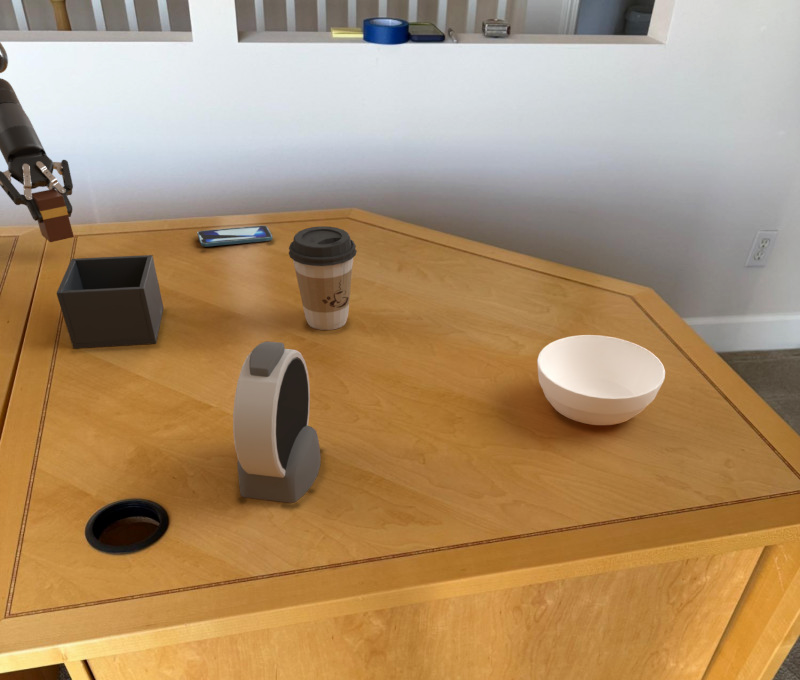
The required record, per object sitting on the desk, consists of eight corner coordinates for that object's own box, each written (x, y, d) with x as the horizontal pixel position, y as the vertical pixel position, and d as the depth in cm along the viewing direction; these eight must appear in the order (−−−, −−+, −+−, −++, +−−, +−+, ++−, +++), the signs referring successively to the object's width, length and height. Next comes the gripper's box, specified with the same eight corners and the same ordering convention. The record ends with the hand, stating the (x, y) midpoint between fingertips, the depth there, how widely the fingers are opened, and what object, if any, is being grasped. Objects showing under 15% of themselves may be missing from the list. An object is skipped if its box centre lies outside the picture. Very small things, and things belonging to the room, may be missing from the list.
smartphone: (273, 237, 163) (201, 243, 160) (273, 241, 164) (202, 248, 160) (266, 224, 169) (196, 231, 165) (266, 229, 169) (197, 235, 165)
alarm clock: (301, 513, 98) (288, 389, 86) (224, 504, 99) (201, 380, 87) (332, 441, 110) (324, 322, 98) (263, 433, 111) (247, 315, 99)
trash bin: (73, 348, 129) (56, 293, 123) (86, 311, 139) (71, 258, 133) (156, 343, 131) (143, 288, 124) (163, 307, 141) (152, 254, 134)
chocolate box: (49, 242, 151) (37, 200, 146) (41, 235, 154) (29, 193, 149) (74, 237, 153) (63, 195, 148) (65, 229, 156) (54, 188, 151)
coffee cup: (320, 342, 131) (314, 256, 121) (282, 319, 137) (273, 235, 127) (372, 322, 137) (370, 237, 127) (332, 300, 143) (328, 218, 133)
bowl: (509, 390, 120) (514, 348, 115) (607, 367, 126) (616, 326, 121) (573, 454, 108) (582, 410, 103) (679, 425, 113) (692, 382, 108)
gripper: (-24, 130, 142) (18, 215, 143) (53, 118, 149) (93, 200, 150) (-23, 154, 149) (17, 235, 150) (51, 141, 156) (89, 220, 157)
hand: (55, 217), depth 150 cm, fingers closed on chocolate box, 5 cm apart
